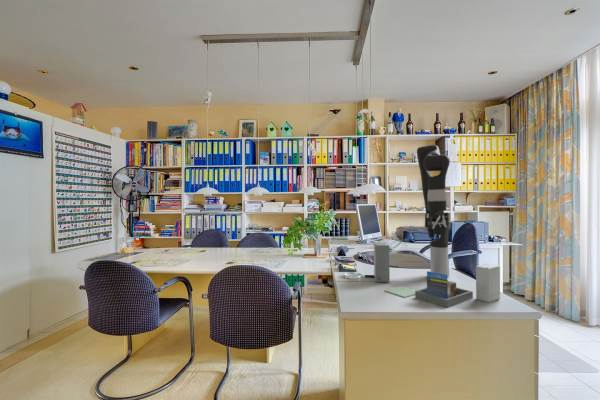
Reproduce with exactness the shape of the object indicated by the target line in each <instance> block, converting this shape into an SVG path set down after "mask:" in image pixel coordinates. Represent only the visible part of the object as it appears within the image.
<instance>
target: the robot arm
mask: <svg viewBox="0 0 600 400" xmlns="http://www.w3.org/2000/svg"><path fill="white" fill-rule="evenodd" d="M416 157H417V162H418V167H419V173H420V178H421V187H422V195H423V200H424V207H425V215H424V227H425V228H426V230H427V232H428V238H432V239H433V238H435V235H439V238H436V239H433V240H430V243H429V245H430V246H429V248H430V249H429V250H430V252H429V253H430V254H429V255H430V259H429V260H430V263H429V264H430V272H435V273H441V274H447V279H448V278H449V277H450V260H449V228H450V227H449V226H450V218H449V217H450V216H449V212H445V211H447V193H446V179H447V173H448V169H449V167H450V164H451V160H450V157H449V155H447V154H441V151H440V148H439V146H438V145H436V144H430V145H426V146H419V147H418V148H417V150H416ZM431 172H439V173H438V174H437V175H434V176H433V175H432V174H431ZM433 276H434V277H440V276H438V275H433Z"/></svg>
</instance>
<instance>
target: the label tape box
mask: <svg viewBox="0 0 600 400" xmlns="http://www.w3.org/2000/svg"><path fill="white" fill-rule="evenodd" d="M433 275H438V276H440V277H434V276H433ZM449 281H450V280H448V278H447V274H441V273H435V272H431V271H429V270H428V271H426V288H427V294H430V295H434V296H437V297H441V298H444V299H448V298H450V282H449Z"/></svg>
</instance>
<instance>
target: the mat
mask: <svg viewBox="0 0 600 400" xmlns="http://www.w3.org/2000/svg"><path fill="white" fill-rule="evenodd" d="M383 291H384V292H386V293H389V294H392V295H395V296H398V297H401V298H408V297H409V298H410V297H413V296H415V291H417V290H416V289H413V288H409V287H406V286H401V285H398V286H395V287H390V288H387V289H384V290H383Z"/></svg>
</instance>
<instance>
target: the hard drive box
mask: <svg viewBox="0 0 600 400" xmlns="http://www.w3.org/2000/svg"><path fill="white" fill-rule="evenodd" d="M373 271H374V272H373V273H374V275H373V277H374V282H375V283H390V245H389V243H388V242H387V241H374V242H373Z"/></svg>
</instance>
